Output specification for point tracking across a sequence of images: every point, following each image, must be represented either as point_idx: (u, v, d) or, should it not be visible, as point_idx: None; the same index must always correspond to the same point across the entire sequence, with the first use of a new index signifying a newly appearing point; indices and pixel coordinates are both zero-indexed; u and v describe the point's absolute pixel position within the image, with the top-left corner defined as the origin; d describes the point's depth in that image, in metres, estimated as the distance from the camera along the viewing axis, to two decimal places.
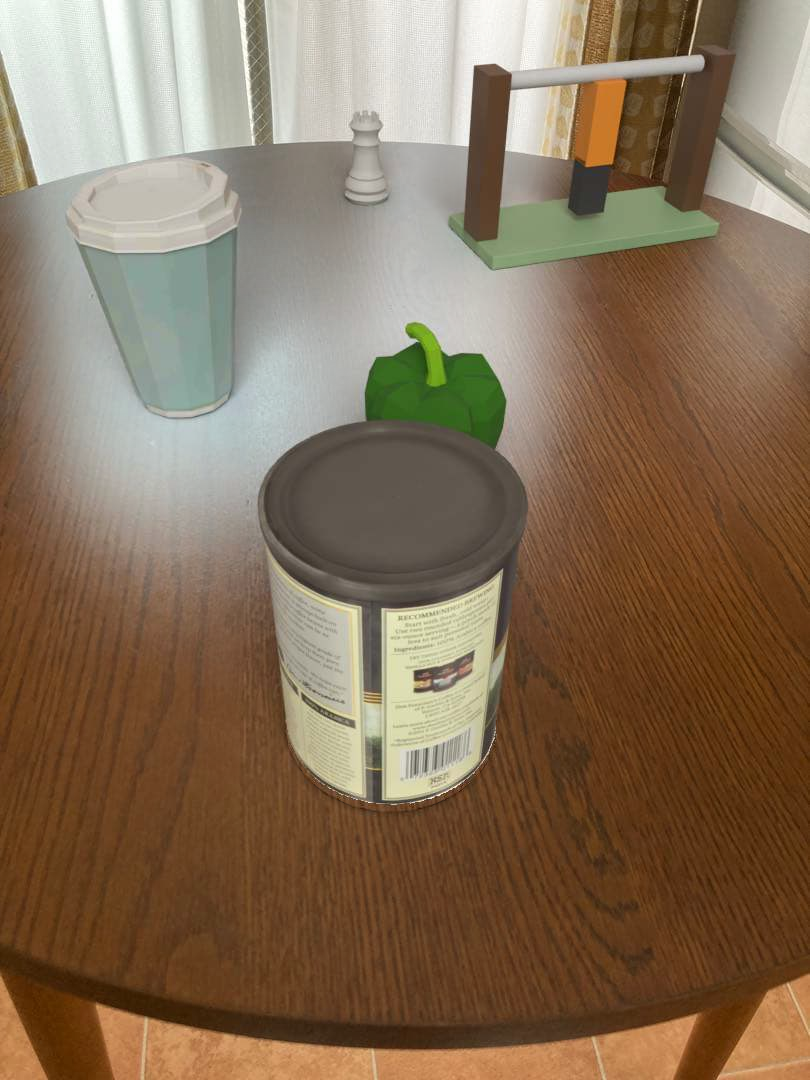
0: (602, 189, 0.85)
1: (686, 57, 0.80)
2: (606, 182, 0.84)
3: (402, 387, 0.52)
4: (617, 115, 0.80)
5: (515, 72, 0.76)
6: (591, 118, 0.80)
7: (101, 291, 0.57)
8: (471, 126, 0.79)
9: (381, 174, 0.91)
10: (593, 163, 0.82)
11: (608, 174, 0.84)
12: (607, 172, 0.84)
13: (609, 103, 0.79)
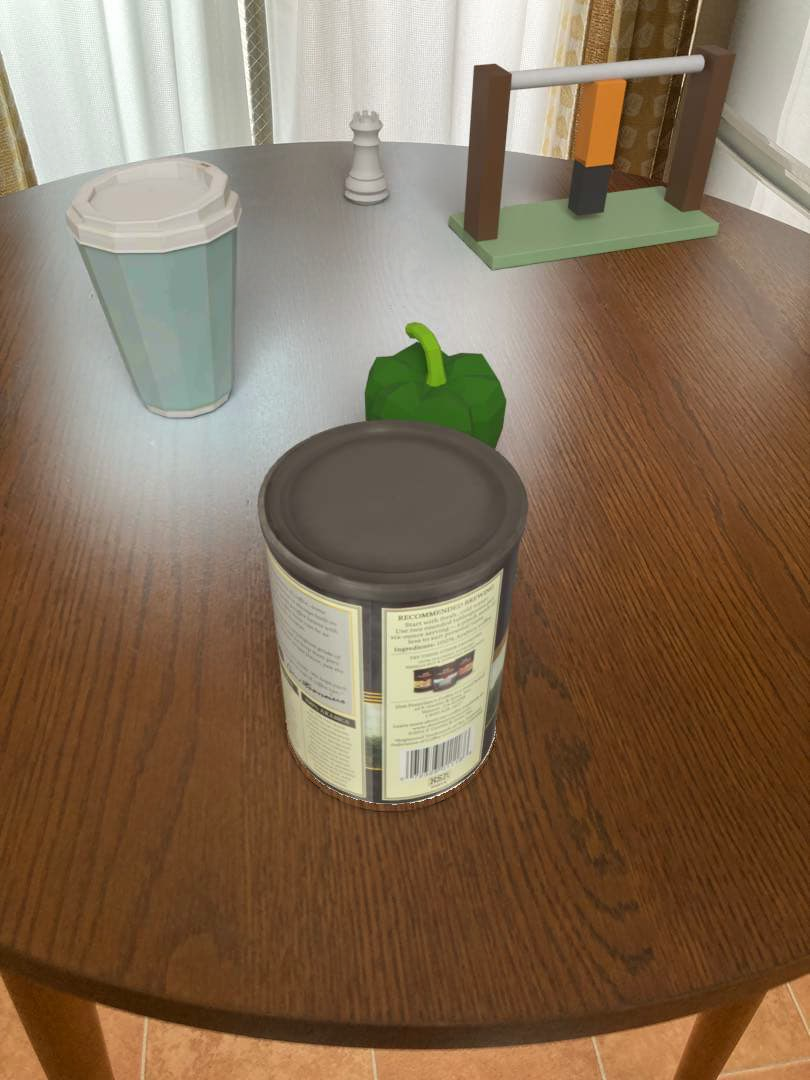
0: (602, 189, 0.85)
1: (686, 57, 0.80)
2: (606, 182, 0.84)
3: (402, 387, 0.52)
4: (617, 115, 0.80)
5: (515, 72, 0.76)
6: (591, 118, 0.80)
7: (101, 291, 0.57)
8: (471, 126, 0.79)
9: (381, 174, 0.91)
10: (593, 163, 0.82)
11: (608, 174, 0.84)
12: (607, 172, 0.84)
13: (609, 103, 0.79)
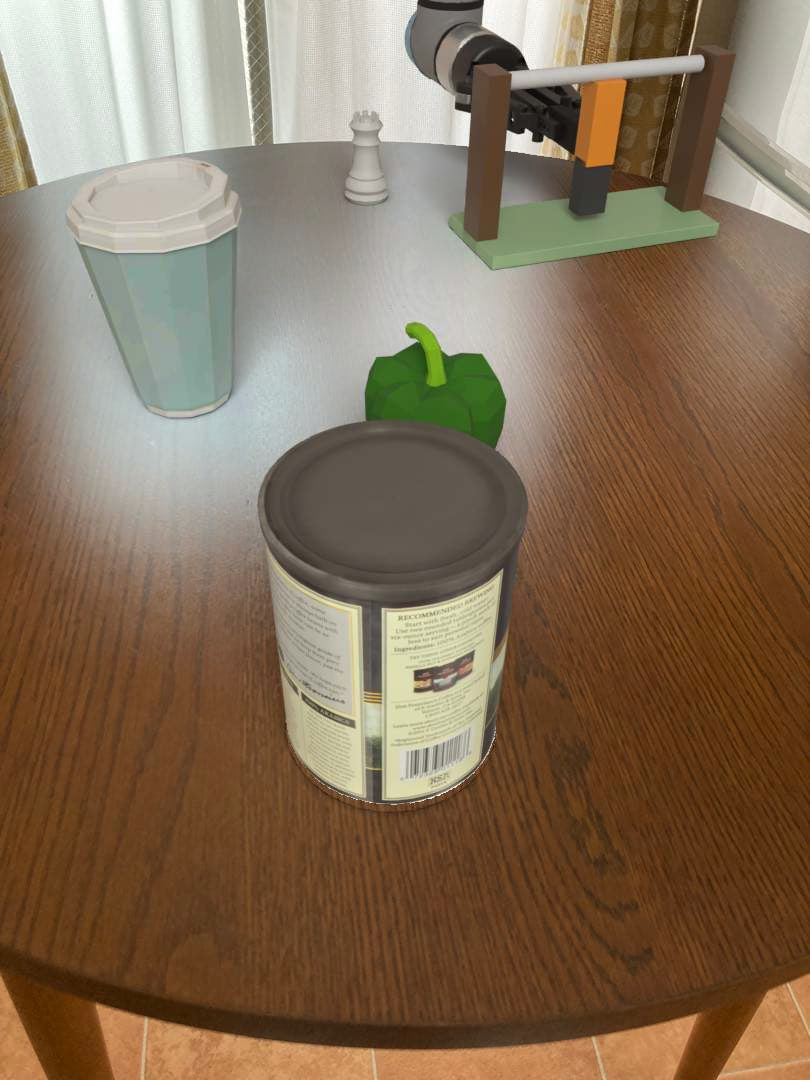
0: (603, 189, 0.85)
1: (686, 57, 0.80)
2: (606, 182, 0.84)
3: (402, 387, 0.52)
4: (617, 115, 0.80)
5: (515, 72, 0.76)
6: (591, 118, 0.80)
7: (101, 291, 0.57)
8: (471, 126, 0.79)
9: (381, 174, 0.91)
10: (594, 163, 0.82)
11: (609, 174, 0.84)
12: (608, 172, 0.84)
13: (609, 103, 0.79)
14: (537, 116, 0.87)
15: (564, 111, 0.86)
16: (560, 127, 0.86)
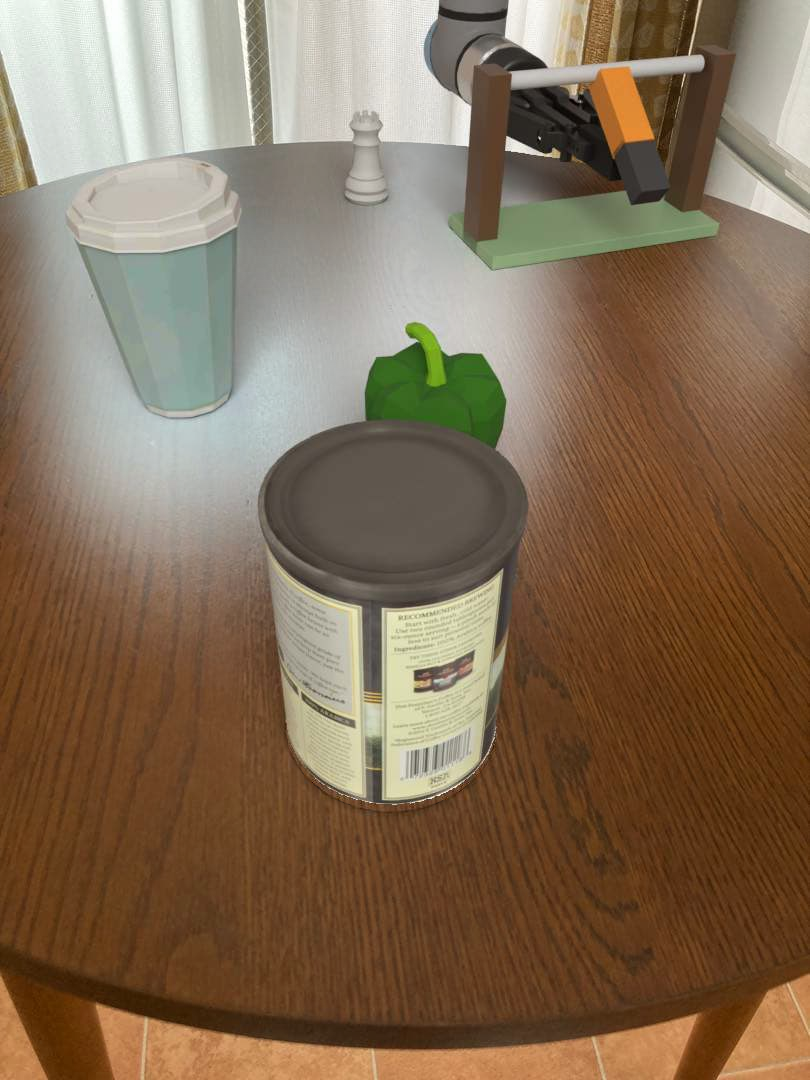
0: (656, 164, 0.76)
1: None
2: (657, 158, 0.77)
3: (402, 387, 0.52)
4: (635, 94, 0.77)
5: None
6: (609, 101, 0.77)
7: (101, 291, 0.57)
8: (471, 126, 0.79)
9: (381, 174, 0.91)
10: (632, 137, 0.76)
11: (655, 150, 0.77)
12: (653, 148, 0.77)
13: (620, 85, 0.77)
14: (566, 135, 0.83)
15: (594, 131, 0.82)
16: (590, 148, 0.82)
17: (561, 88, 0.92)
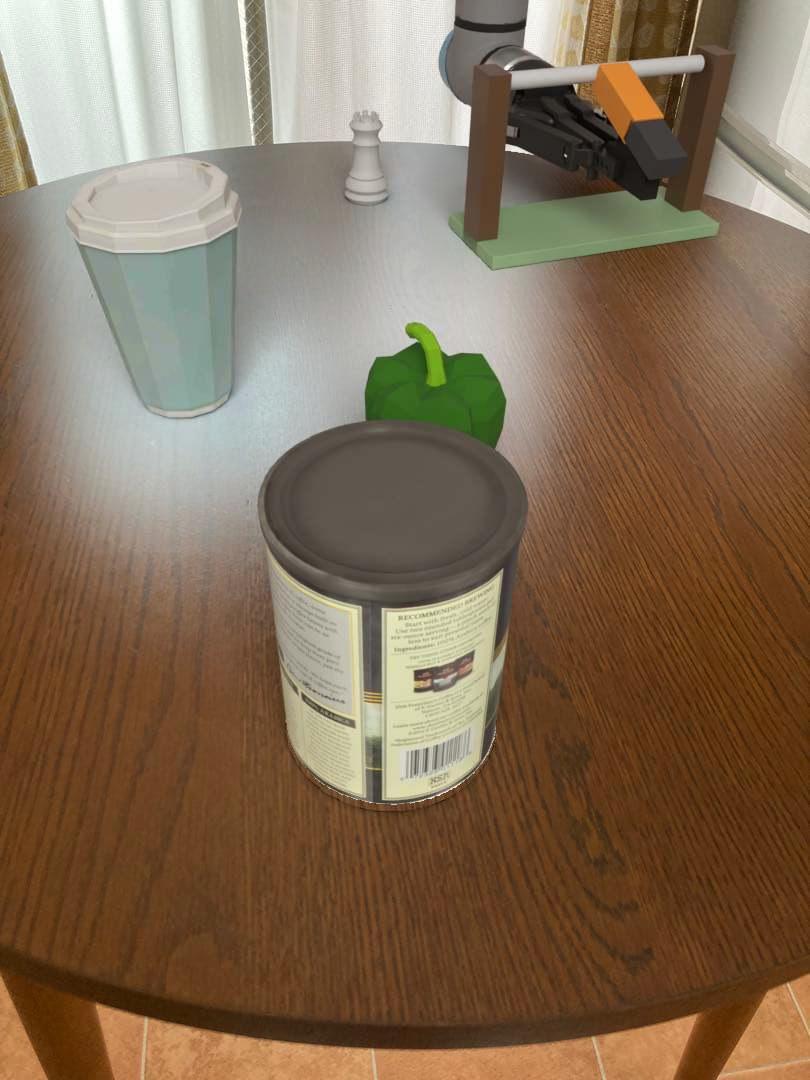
0: (670, 138, 0.74)
1: None
2: (669, 132, 0.74)
3: (402, 387, 0.52)
4: (638, 83, 0.77)
5: None
6: (612, 89, 0.76)
7: (101, 291, 0.57)
8: (471, 126, 0.79)
9: (381, 174, 0.91)
10: (640, 116, 0.74)
11: (666, 126, 0.75)
12: (664, 125, 0.75)
13: (622, 76, 0.77)
14: (593, 152, 0.80)
15: (624, 148, 0.78)
16: (620, 166, 0.78)
17: (585, 102, 0.88)
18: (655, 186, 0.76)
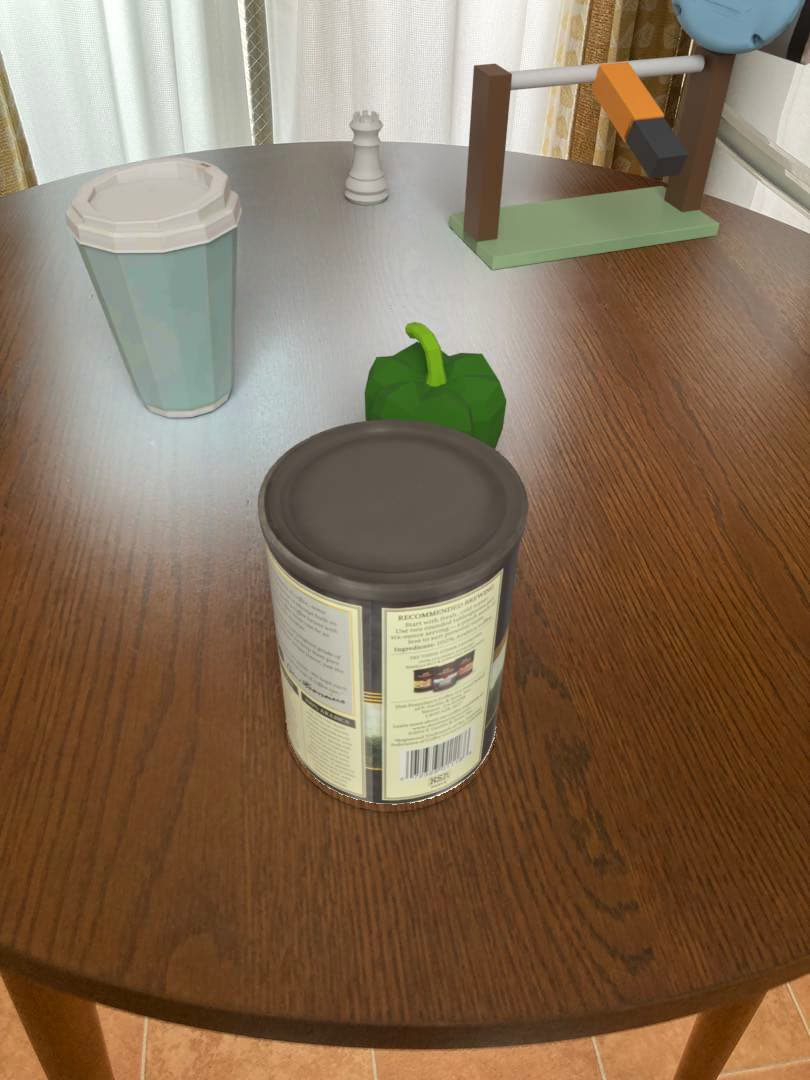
0: (670, 136, 0.74)
1: None
2: (670, 131, 0.74)
3: (402, 387, 0.52)
4: (638, 82, 0.77)
5: None
6: (612, 89, 0.76)
7: (101, 291, 0.57)
8: (471, 126, 0.79)
9: (381, 174, 0.91)
10: (641, 115, 0.74)
11: (667, 125, 0.75)
12: (664, 123, 0.75)
13: (622, 75, 0.77)
14: None
15: None
16: None
17: None
18: None
